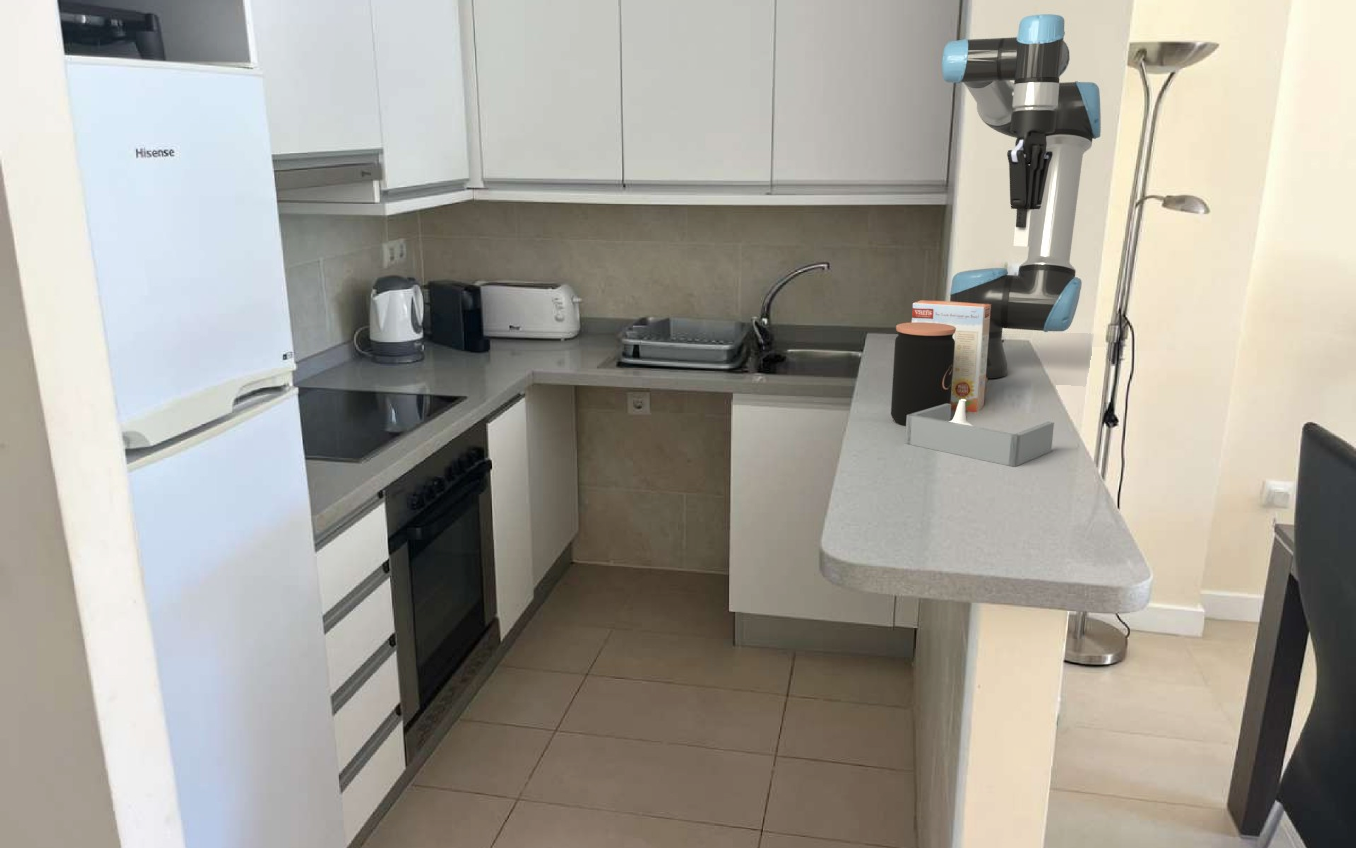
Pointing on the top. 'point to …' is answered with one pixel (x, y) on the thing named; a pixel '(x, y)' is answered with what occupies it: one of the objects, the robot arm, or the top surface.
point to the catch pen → (976, 438)
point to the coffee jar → (921, 368)
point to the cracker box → (962, 345)
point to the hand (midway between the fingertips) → (1022, 245)
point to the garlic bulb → (960, 414)
